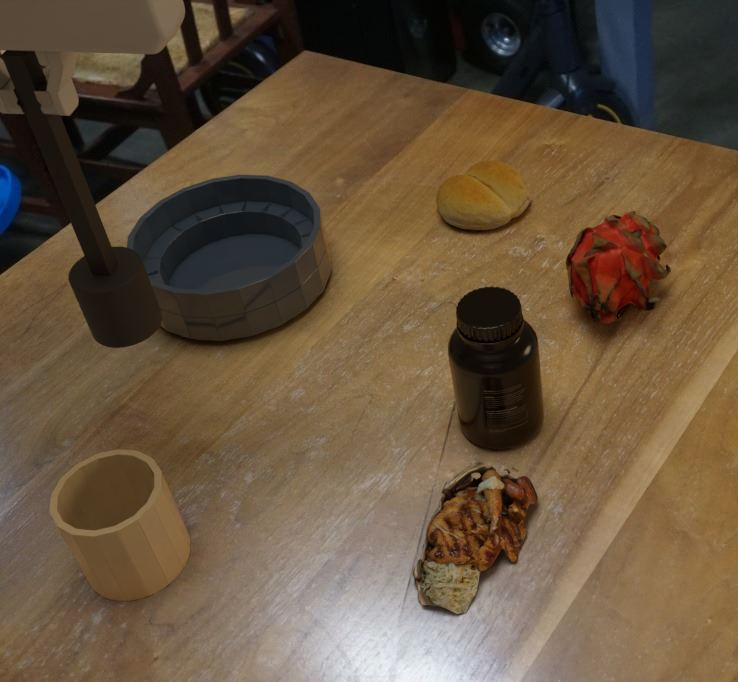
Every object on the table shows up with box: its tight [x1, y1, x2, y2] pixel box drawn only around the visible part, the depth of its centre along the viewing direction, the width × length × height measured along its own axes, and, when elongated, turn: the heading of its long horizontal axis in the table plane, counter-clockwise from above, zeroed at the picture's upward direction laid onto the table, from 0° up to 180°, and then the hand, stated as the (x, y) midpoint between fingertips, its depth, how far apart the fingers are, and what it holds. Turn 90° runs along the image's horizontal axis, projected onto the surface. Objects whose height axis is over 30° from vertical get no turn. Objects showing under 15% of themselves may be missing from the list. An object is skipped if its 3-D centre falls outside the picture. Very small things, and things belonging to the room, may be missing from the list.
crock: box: [48, 448, 191, 602], centre depth 77 cm, size 7×7×8 cm
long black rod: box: [0, 50, 162, 349], centre depth 69 cm, size 5×5×21 cm
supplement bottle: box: [447, 286, 544, 450], centre depth 83 cm, size 7×7×12 cm
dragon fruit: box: [565, 210, 672, 325], centre depth 95 cm, size 8×8×12 cm
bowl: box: [126, 174, 332, 342], centre depth 100 cm, size 17×17×6 cm
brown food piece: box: [412, 457, 539, 615], centre depth 78 cm, size 7×12×4 cm, turn 163°
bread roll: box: [435, 160, 532, 231], centre depth 107 cm, size 8×9×4 cm
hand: (41, 109), depth 64 cm, fingers closed on long black rod
